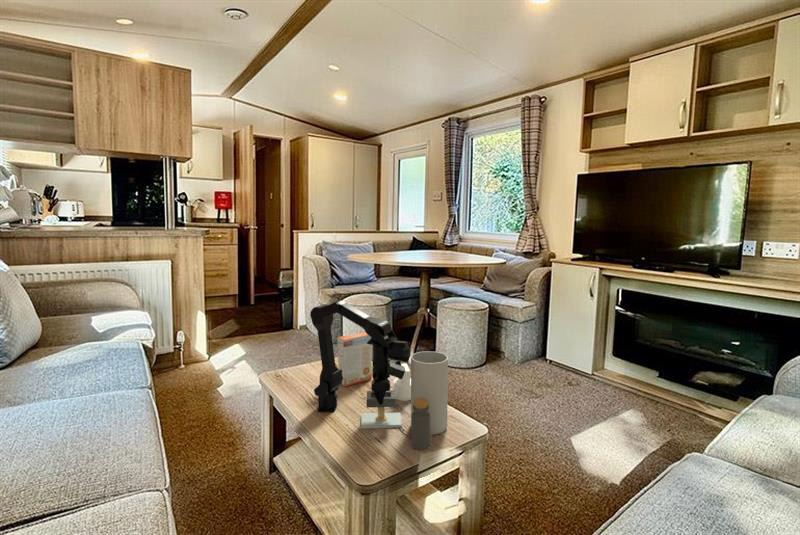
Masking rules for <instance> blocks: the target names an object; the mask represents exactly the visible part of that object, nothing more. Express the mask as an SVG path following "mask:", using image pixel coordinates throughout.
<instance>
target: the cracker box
mask: <svg viewBox="0 0 800 535" xmlns="http://www.w3.org/2000/svg"><path fill="white" fill-rule="evenodd" d="M370 339H371V337H370V336H369V335H368V334H367V333H366V332H365V331H363V332H358V333H353V334H347V335H342V336H337V339H336V340H337V362H338V363H337V364H338V365H337V366H338V367H337V368H338V369H342V376H343V380H342V384H341V385H340V386H343V387H346V388H347V387H348V386H349V387H350V386H353V385H356V384H360V383H363V382H367V381H370V380H371V381H372V380H373V374H372V366H373V365H372V345H370V344H367V342H368V341H369V340H370Z"/></svg>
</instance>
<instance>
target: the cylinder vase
mask: <svg viewBox="0 0 800 535" xmlns="http://www.w3.org/2000/svg"><path fill="white" fill-rule="evenodd" d="M448 375H449V356H448V355H447V354H445V353H443V352H439V351H431V350H430V351H429V350H427V351H426V350H425V351H418V352H415V353H413V354H412V355H410V378H411V400H410V419H411V418H412V413H413V412H414V410H413V405H414V402H413V400H414V399H416V398H425V399H427V400H428V406H429V410H428V411H427V412H429V414H430V436H434V435H439V434H442V433H444V432H445V431H446V430H447V428H448V395H449V394H448V392H449V390H448V388H449V387H448V386H449V384H448V381H449V379H448V378H449V376H448Z"/></svg>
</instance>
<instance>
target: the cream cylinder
mask: <svg viewBox="0 0 800 535" xmlns="http://www.w3.org/2000/svg"><path fill="white" fill-rule="evenodd" d="M401 365H402V366H404V367H405V373H404V376H403V378H402V379H399V378H397V377H396V378H395V379H394V380H393V390H395V398H396V400H399V401H403V402H404V401H405V402H406V401H411V368H409V366H408V364H407V362H403V363H401Z"/></svg>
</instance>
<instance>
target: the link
mask: <svg viewBox="0 0 800 535" xmlns="http://www.w3.org/2000/svg"><path fill="white" fill-rule="evenodd" d="M365 400H366V409H367V408H378V407H385V408H396V400H397V399H396V398H395V390H394V389H392V390H391V389H390V390H389V391H386V392H385V395H384V400H383V404H382V405H379V403H378V401H377V398H376V396H375V394H374V392H373V391H372V390H366V399H365Z"/></svg>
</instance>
